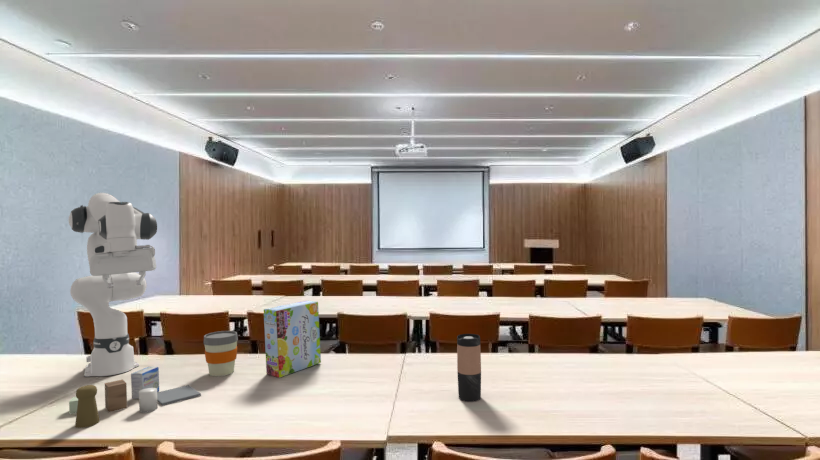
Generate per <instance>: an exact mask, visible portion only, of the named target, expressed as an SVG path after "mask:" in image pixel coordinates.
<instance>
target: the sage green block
mask: <svg viewBox="0 0 820 460" xmlns="http://www.w3.org/2000/svg"><path fill="white" fill-rule="evenodd" d="M68 406H69V407H68V408H69V409H68V410H69V411H68V412H69V415H73V414H77V406H78V398H77V397H76V396H73V397H71V399H70V400H69V401H68Z"/></svg>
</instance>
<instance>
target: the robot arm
mask: <svg viewBox="0 0 820 460" xmlns="http://www.w3.org/2000/svg"><path fill="white" fill-rule="evenodd" d="M68 224H69V226H70V228H71V230H73V232H76V233H81V234H83V233H92V234H90V235H89V237H88V239H87V242H86V254H87V258H88V259H87V260H88V264H89V265H88V266H89V274H90V275H88V276H82V277H78V278H76V279H75V280H74V281H73V282H72V284H71V286H70V289H69V292H70V296H71V298H72V299H73V300H74V302H75V303H78V304H79V305H81V306H83V307H84V308H85V309H86V310H87V311H88V312H89V314H90V315H91V317H92V319H93V321H92V322H93V326H94V338H93V341H92V342H93V343H92V344H93V350H92V351H91V354H90V355H88V356H86V363H87V365H85V368H84V374H83V377H107V376H115V375H118V374H123V373H126V372H129V371H131V370H132V369H134V368H136V367H139V366H140V363H139V362H136V361H135V352H134V346H133V345H131V344H130V334H129V333H128V317H127V314H126V313H124V312H123V311H121V310H119V309H116V308H112V307H110V305H109V303H110V302H119V301H127V300H132V299H135V298H140V297H142V296H143V295H144V294H145V292H146V290H147V286H148V285H147V280H146V278H145V277H146V274H147V272H150V271H151V272H154V271H155V270H156V268H157V261H156V257H155V255H156V250H155V247H154V246H153V245H150V244H144V245H140V244H139V245H138V240H143V241H144V240H147V241H148V240H151V239H152V238H153V237H154V236H155V235H156V234H157V232H158V223H157V219H156V217H154V215H152V214H151V213H149V212H143V211H142V210H141V209H138V208H137V207H134V206H133V203H131V202H129V201H120V200H119V199H117V198H116V197H115V196H113V195H111V194H110V193H107V192H97V193H95V194H93V195H92V196H91V197H90V198H89V200H88V204H87V206H85V205H83V204H82V205H80V206H78V207H76V208H74V209H73V210H71V211H70V213H69V216H68Z"/></svg>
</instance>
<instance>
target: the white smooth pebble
mask: <svg viewBox="0 0 820 460" xmlns="http://www.w3.org/2000/svg"><path fill="white" fill-rule="evenodd" d="M138 406H139V409H138V410H139V412H140V413H142V414H143V413H145V414H146V413H151V412H154V411H156V410H157V409H158V401H157V388H146V389H143V390H140V391H139V399H138Z"/></svg>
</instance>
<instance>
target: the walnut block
mask: <svg viewBox="0 0 820 460" xmlns="http://www.w3.org/2000/svg"><path fill="white" fill-rule="evenodd" d="M127 390H128V389H127V382H126V381H125V380H124V379H122V378H121V379H119V380H118V379H117V380H114V381H109V382H108V381H107V382H105V383H104V402H105V403H104V407H105V409H106V410H107V412H108V413H112V412H116V411H121V410H124V409H127V408H128V397H127V396H128V392H127Z"/></svg>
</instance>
